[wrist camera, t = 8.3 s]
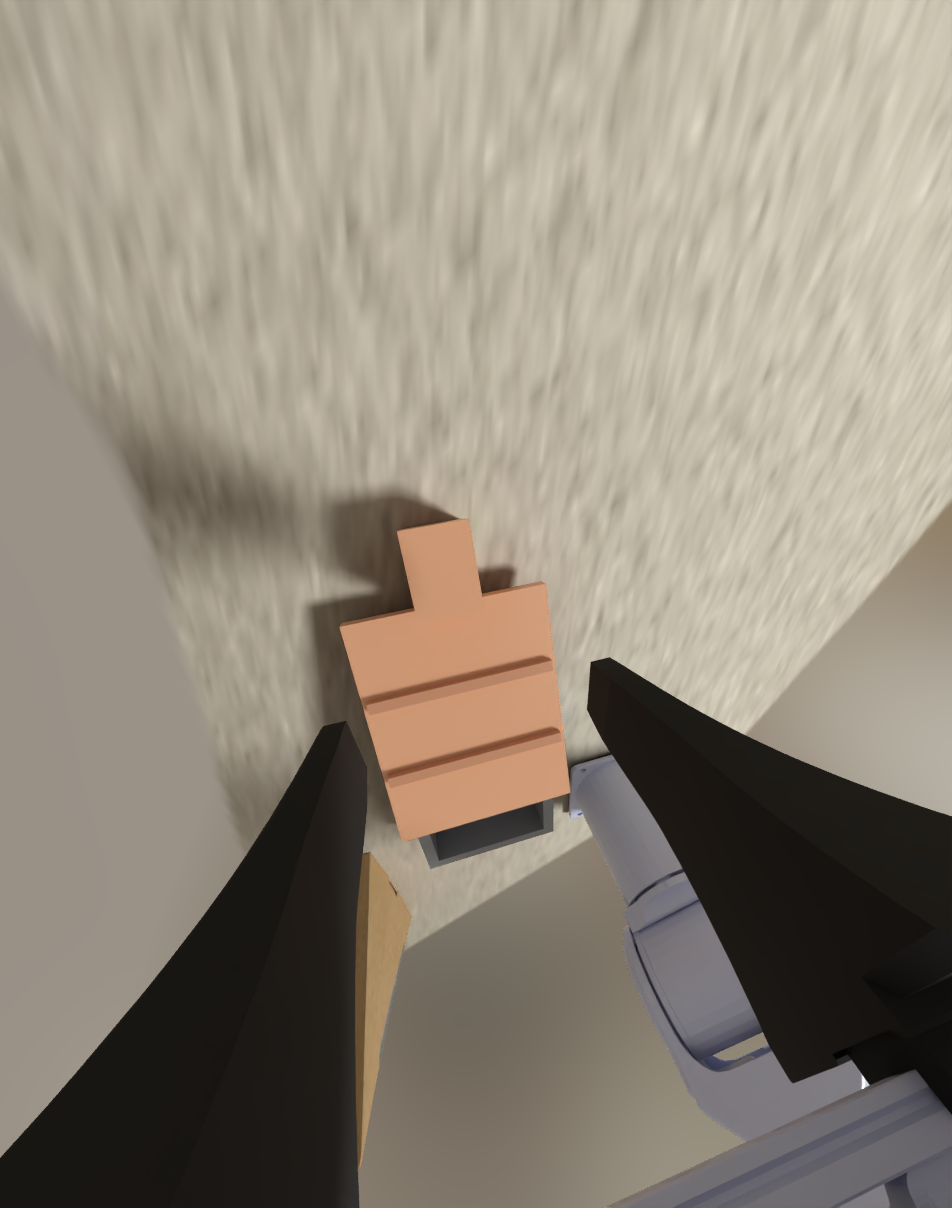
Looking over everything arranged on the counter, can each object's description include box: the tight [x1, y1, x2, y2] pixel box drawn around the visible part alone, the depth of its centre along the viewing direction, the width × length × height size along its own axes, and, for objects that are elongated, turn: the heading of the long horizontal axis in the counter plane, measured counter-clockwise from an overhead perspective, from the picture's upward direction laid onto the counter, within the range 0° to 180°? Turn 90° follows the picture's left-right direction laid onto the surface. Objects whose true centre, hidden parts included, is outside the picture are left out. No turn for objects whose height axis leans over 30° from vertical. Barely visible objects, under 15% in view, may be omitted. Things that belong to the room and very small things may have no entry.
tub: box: [418, 798, 553, 869], centre depth 25 cm, size 10×13×4 cm
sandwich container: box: [355, 853, 412, 1171], centre depth 27 cm, size 9×15×15 cm, turn 8°
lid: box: [340, 519, 571, 842], centre depth 18 cm, size 11×18×3 cm, turn 7°
